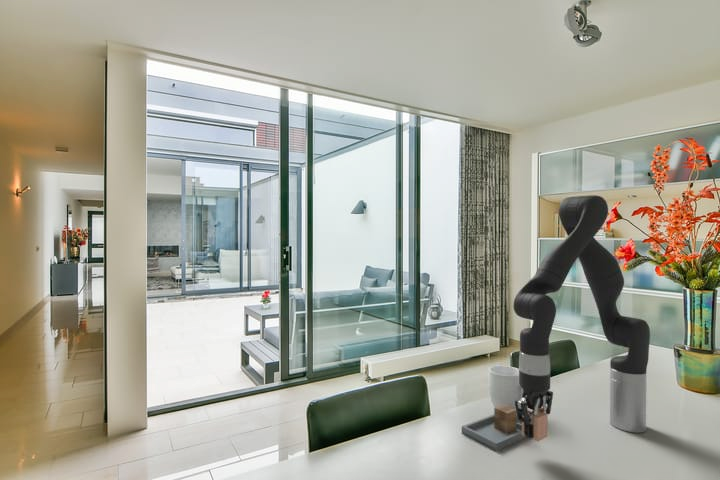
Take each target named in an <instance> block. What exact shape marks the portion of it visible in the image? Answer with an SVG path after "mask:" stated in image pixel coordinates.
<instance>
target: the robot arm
mask: <svg viewBox="0 0 720 480" xmlns="http://www.w3.org/2000/svg"><path fill="white" fill-rule="evenodd" d="M608 214H609V206H608V203H607V201H606V199H605V198H604V197H602V196H601V195H590V194H589V195H580V196H579V195H578V196H569V197H566V198H564V199H562V200H561V201H560V203H559V206H558V216H559V220H560V222H561V225H562V228H563V229H564V231H565V233H566V235H567V237H565V238H564V239H563V240H562V241H560V242H559V243H558V244H556V245H555V246H554V247H553V248H552V249H551V250H550V251H549V252H548V253H547V254H546V255H545V256H544V258H543V259H542V260H541V263H540V264H539V267H538V268H537V270H536V272H535V274H534V275H533V276H532V278H530V279H529V280H528V281H527V282H526V284H524V285H523V287H521V289H520V290H519V291H518V292H517V293H516V295H515V298H514V300H513V307H512V308H513V312H514V313H515V315H517V316H518V317H520V318H522V319H526V320H530V321H532V326H531V327H526V328H523V329H522V330H520V334H519V355H518V356H519V357H518V369H519V385H520V386H521V387H522V389H523V395H522V399H521V400H515V406H516V411H517V421H519V422H521V423H522V422H524V435H525V436H526V438H529V439H530V438H533V437H534V430H533V422H534V416H536V415H537V410H539V411H541V412H544V413H547V414H548V415H550V414H551V411H552V403H553V398H554V397H553V396H554V392H553V391H552V390H551V359H550V335H551V333H552V329H553V326H554V323H555V319H556V317H557V316H556V314H557V307H556V303H555V301H554V299H553V298H552V297H551V296H549V295H548V294H553V293H557V292H558V291H559V290H561V288H562V287H563V284H564V282H565V280H566V278H567V277H568V275H569V273H570V270H571V269H572V267H573V265H574V264H575V262H576V261H577V260H578V259H579V262H580V265H581V267H582V270H583V274H584V276H585V279H586V281H587V284H588V286H589V289H590V290H591V291H590V292H591V294H592V297H593V298H594V302H595V305H596V307H597V312H598V315H599V319H600V323H601V327H602V330H603V333H604V336H605V339H606V340H607V341H608V343H610V344H613V345H616V346H620V347H623V348H627V349H628V350H627V354H626V355H618V356H617V355H615V356H614V357H611V358H610V363H609V365H610V367H609V377H610V378H609V381H610V382H609V385H610V387H609V424H610V425H611V426H613V427H615V429H616V428H617V429H619V430H620V431H626V432H627V433H628V432H630V433H636V434H637V433H645V432H646V430H647V372H648V371H647V370H648V369H647V368H648V365H649V364H648V363H649V354H650V344H651V343H650V340H651V331H650V326H649V323H648V322H647V321H646V320H644V319H642V318H638V317H630V316H624V315H621V314H620V312H619V310H618V308H617V301H618V299H619V297H620V295H621V293H622V292H623V289H624V286H625V278H624V275H623V271H622V269H621V266H620V265H619V262H618V260H617V259H616V258H615V256H614V255H613V254H612V253H611V252H610V251H609V250H608V249H607V248H605V246H603V245H602V244H601V243H600V242H599V241H598V240H597V239H596V238H595V236H597V234H598V233H599V231H600V230H601V228H602V227H603V225H604V224H605V222H606V220H607V218H608V216H609V215H608ZM527 408H528V409H532V410H533V411H530V410H528V409H527ZM528 414H530V419H529V416H528ZM522 415H523V417H522Z"/></svg>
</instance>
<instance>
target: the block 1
mask: <svg viewBox="0 0 720 480" xmlns="http://www.w3.org/2000/svg"><path fill="white" fill-rule="evenodd" d="M493 410H494V412H493V414H494V428H495V429H497V430H499V431H502V432H504V433H506V434H509V433H511V432H513V431H516V430H517V422H518V416H517V411H516V409H514V408H511V407H509V406H506V405H501V406H498V407H494V409H493Z"/></svg>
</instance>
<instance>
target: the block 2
mask: <svg viewBox="0 0 720 480" xmlns="http://www.w3.org/2000/svg"><path fill="white" fill-rule="evenodd" d="M528 410H530V411H533V410H532V409H529V408H528ZM548 415H549V414H547V413H544V412H541V411H539V410H537V415H536V416H534V422H533V430H534V437H533V438H529V439H531V440H533V441H535V442H540V441H542V440H544V439H545V438H548V436H549V435H548V430H549V429H548V425H549V424H548ZM528 416H529V419H530V414H528ZM522 417H523V415H522ZM521 424H522V435H524V422H521ZM524 436H525V435H524Z"/></svg>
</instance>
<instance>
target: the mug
mask: <svg viewBox="0 0 720 480" xmlns="http://www.w3.org/2000/svg"><path fill="white" fill-rule="evenodd" d="M488 391H489V397H490V401H491V403H492V405H493V407H494V408H495V407H498V406H501V405H506V406H509V407H511V408H514V409H516V406H515V400H521V399H522V395H523V389H522V387H521V386H520V385H519V367H518V368H517V367H513V366H509V365H493V366H490V367H489V368H488ZM527 409H529V408H527Z"/></svg>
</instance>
